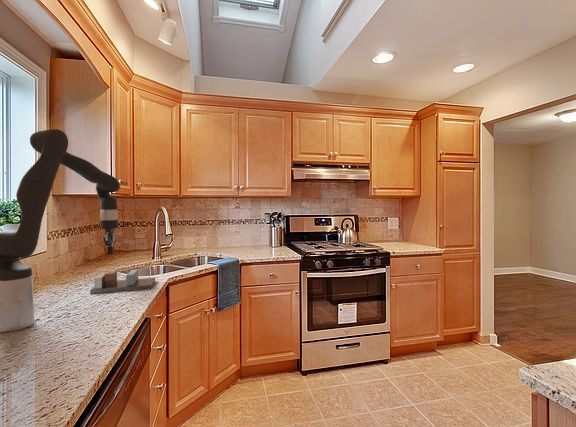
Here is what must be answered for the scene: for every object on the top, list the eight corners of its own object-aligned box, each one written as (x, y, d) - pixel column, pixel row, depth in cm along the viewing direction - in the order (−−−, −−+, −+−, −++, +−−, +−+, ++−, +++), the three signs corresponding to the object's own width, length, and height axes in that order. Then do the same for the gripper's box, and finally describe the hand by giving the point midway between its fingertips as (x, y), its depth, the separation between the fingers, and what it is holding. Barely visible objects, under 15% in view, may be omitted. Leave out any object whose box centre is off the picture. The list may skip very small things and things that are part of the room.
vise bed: (151, 288, 148) (150, 274, 147) (90, 294, 141) (89, 279, 140) (155, 281, 161) (154, 268, 161) (100, 285, 154) (99, 272, 154)
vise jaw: (133, 285, 146) (132, 274, 146) (126, 285, 145) (126, 275, 145) (138, 278, 158) (138, 269, 158) (132, 279, 157) (131, 269, 157)
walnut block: (114, 285, 147) (113, 273, 147) (105, 286, 146) (104, 273, 146) (117, 282, 152) (116, 270, 152) (108, 283, 151) (107, 271, 151)
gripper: (114, 219, 142) (115, 256, 143) (121, 217, 155) (122, 251, 156) (96, 220, 140) (97, 257, 141) (104, 218, 153) (105, 252, 154)
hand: (110, 254), depth 148 cm, fingers closed
